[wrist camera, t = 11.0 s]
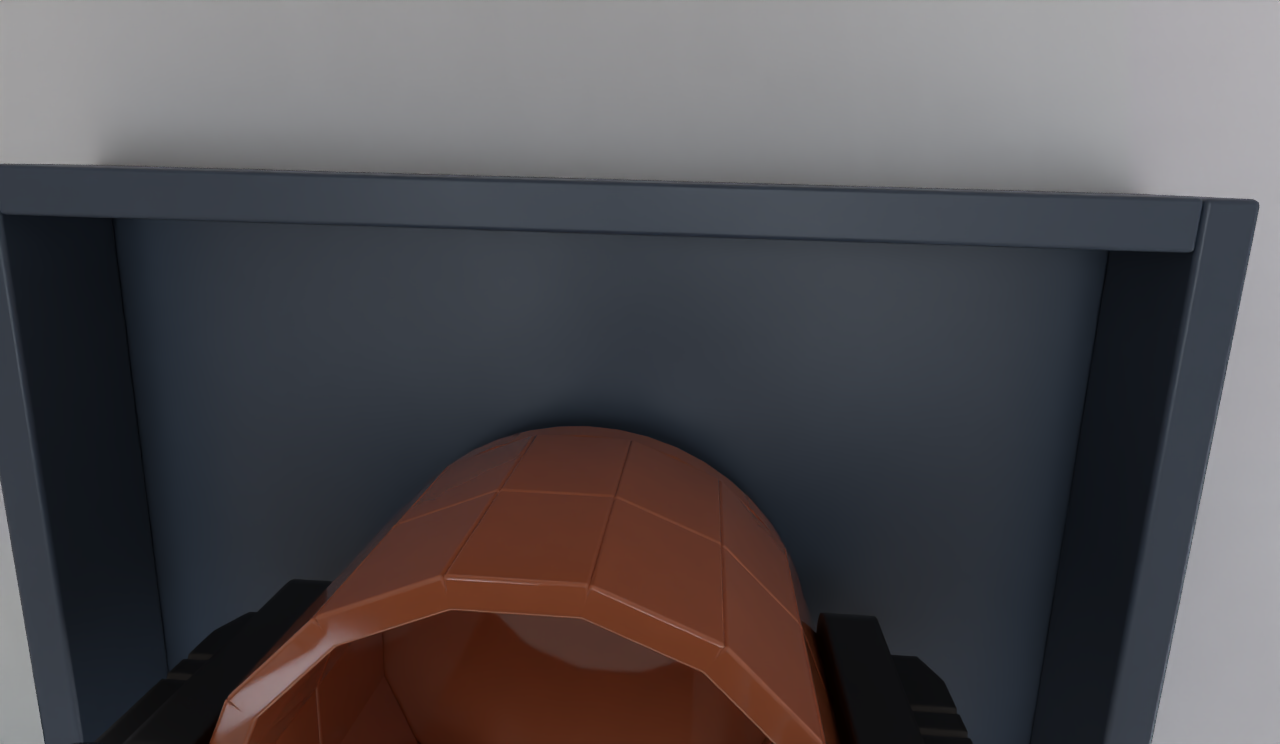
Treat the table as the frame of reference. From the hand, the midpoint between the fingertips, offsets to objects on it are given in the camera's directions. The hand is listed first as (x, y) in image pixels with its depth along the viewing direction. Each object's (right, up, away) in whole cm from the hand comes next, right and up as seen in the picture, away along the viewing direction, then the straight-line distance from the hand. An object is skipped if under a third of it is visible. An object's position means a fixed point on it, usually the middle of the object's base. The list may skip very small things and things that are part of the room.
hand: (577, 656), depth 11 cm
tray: (0, 0, +2) cm, 2 cm away
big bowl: (0, 0, +1) cm, 1 cm away
